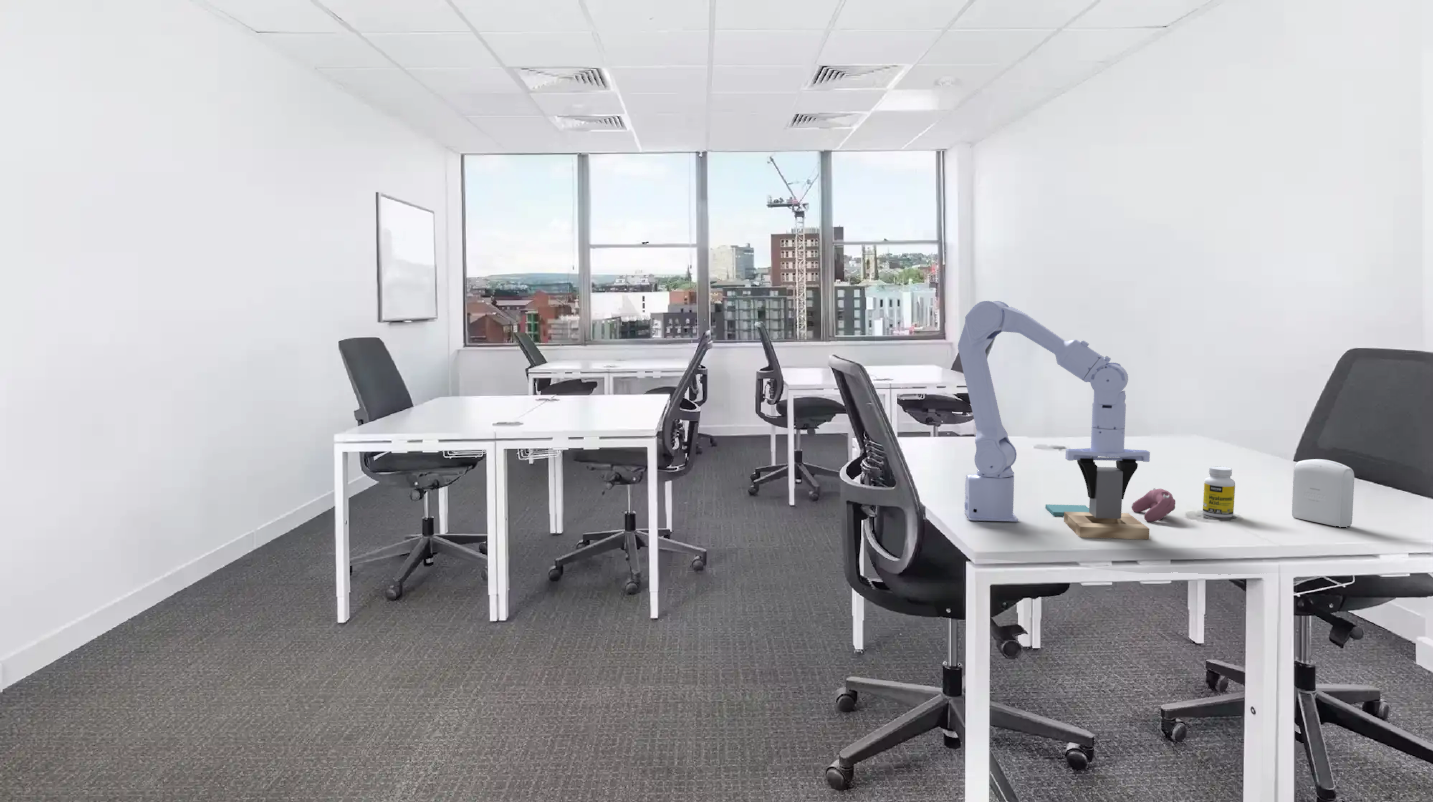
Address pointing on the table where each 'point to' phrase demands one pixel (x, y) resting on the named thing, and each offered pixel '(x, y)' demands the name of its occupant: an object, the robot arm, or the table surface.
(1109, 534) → the square wooden frame
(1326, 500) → the photo printer
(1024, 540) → the table surface
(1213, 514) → the supplement bottle
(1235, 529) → the table surface
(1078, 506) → the rubber mat
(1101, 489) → the plug
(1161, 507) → the video game controller
